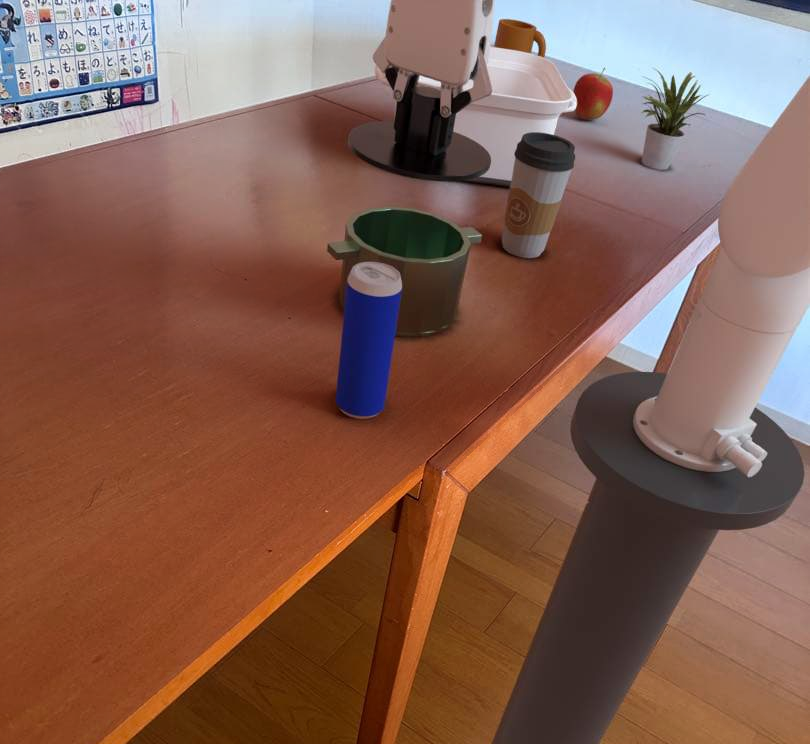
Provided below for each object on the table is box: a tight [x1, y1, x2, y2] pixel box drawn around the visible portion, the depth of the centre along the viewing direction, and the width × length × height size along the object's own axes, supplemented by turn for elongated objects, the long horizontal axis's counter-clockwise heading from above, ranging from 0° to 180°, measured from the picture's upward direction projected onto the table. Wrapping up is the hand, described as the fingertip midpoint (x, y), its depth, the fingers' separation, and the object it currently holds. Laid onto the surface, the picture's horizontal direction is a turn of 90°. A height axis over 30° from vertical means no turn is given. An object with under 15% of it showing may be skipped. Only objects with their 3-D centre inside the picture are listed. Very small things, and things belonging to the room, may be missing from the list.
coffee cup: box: [501, 132, 576, 259], centre depth 115 cm, size 8×8×15 cm
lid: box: [347, 86, 491, 182], centre depth 88 cm, size 16×16×7 cm
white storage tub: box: [374, 46, 577, 188], centre depth 139 cm, size 34×29×15 cm
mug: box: [493, 18, 547, 58], centre depth 190 cm, size 9×12×9 cm
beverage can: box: [335, 262, 402, 420], centre depth 80 cm, size 5×5×15 cm
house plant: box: [641, 67, 709, 171], centre depth 152 cm, size 14×14×16 cm
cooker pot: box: [326, 206, 483, 338], centre depth 99 cm, size 15×20×10 cm
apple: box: [572, 67, 614, 121], centre depth 168 cm, size 8×8×10 cm
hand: (420, 144), depth 89 cm, fingers closed on lid, 3 cm apart
